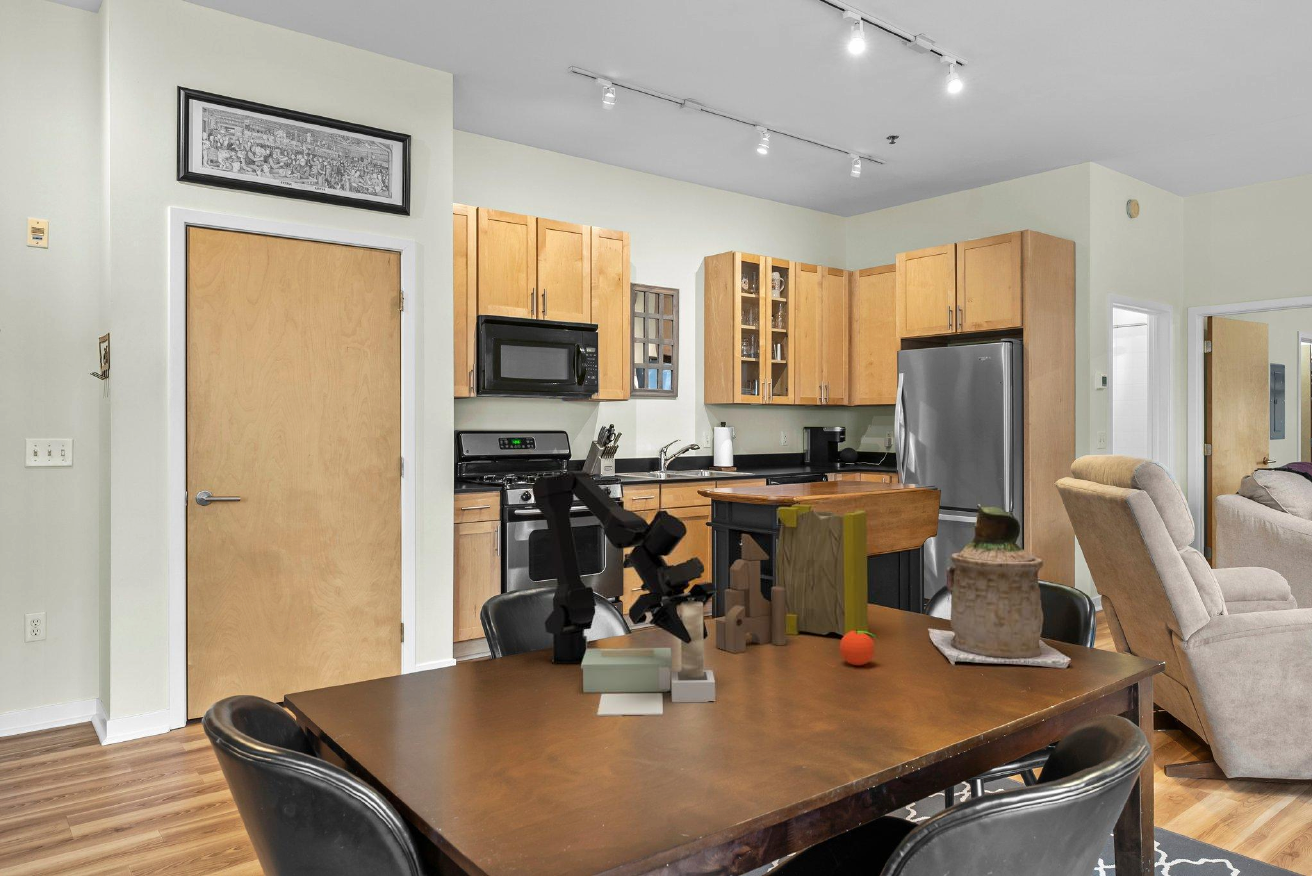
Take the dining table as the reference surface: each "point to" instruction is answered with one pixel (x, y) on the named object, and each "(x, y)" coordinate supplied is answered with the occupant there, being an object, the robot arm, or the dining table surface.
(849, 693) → the dining table surface
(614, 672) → the pale green box
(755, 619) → the wooden toy
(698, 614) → the beige cylinder
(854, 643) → the clementine
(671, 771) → the dining table surface
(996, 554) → the cookie jar
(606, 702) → the mat
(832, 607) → the decorative book
